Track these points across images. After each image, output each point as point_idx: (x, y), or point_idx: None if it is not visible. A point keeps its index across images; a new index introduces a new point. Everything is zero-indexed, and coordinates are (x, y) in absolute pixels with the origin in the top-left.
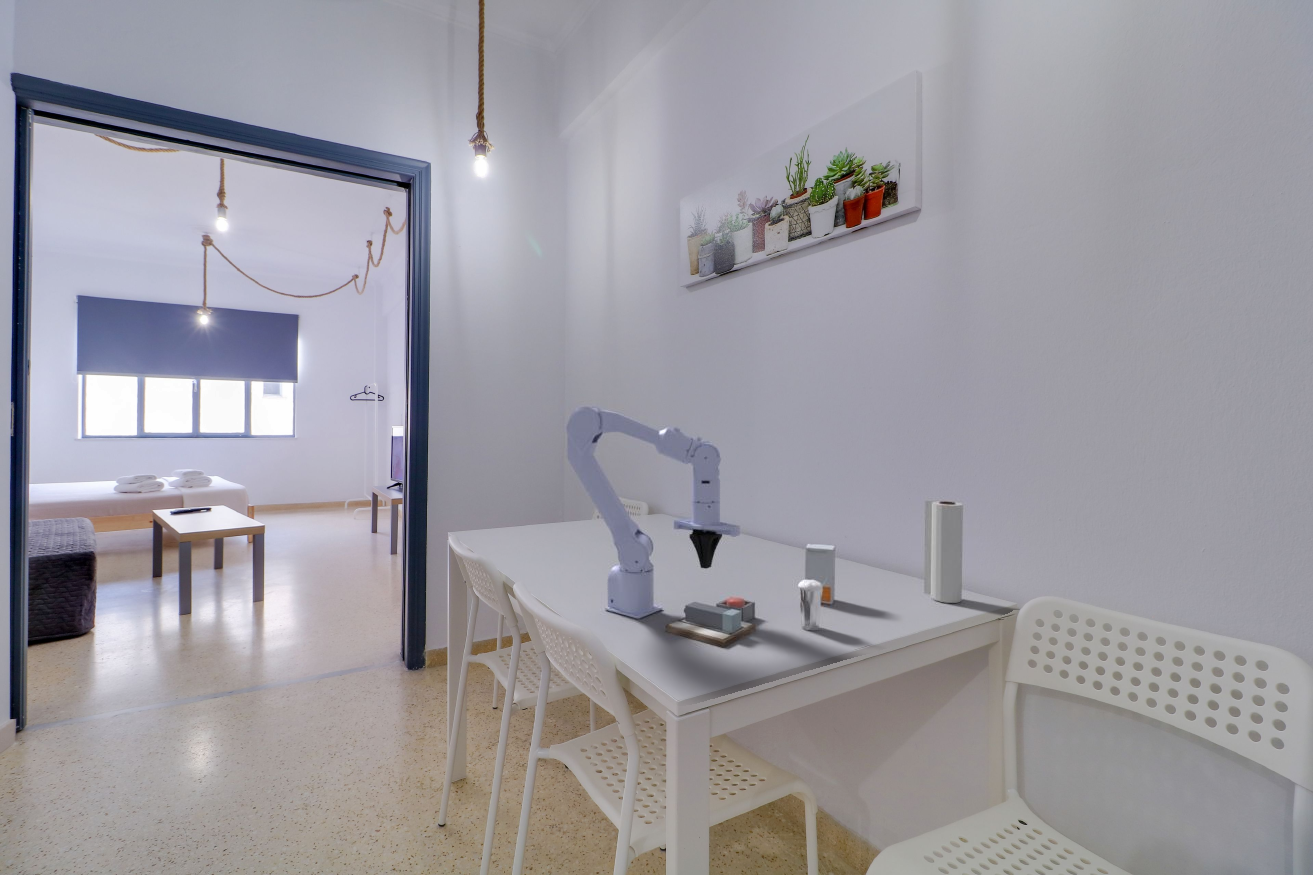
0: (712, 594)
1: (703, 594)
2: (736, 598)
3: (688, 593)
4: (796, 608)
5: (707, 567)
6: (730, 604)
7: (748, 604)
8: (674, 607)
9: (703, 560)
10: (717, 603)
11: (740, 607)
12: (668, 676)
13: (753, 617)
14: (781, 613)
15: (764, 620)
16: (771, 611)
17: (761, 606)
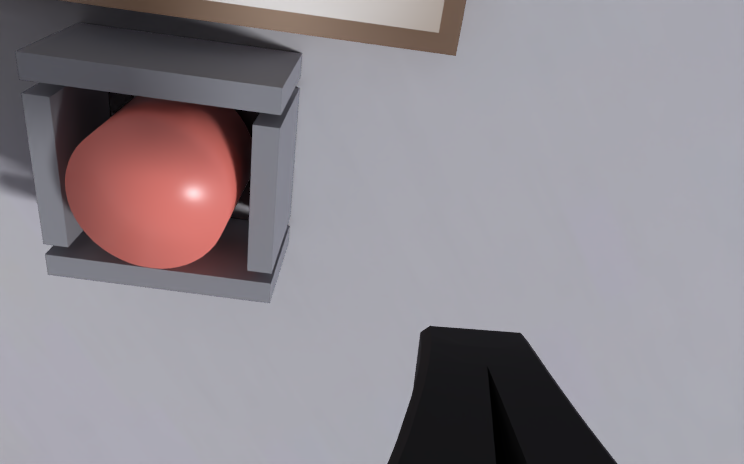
0: None
1: (599, 437)
2: (169, 244)
3: (703, 417)
4: (10, 442)
5: (419, 359)
6: (153, 116)
7: (51, 204)
8: (715, 126)
9: (472, 398)
10: (276, 99)
11: (50, 101)
12: None
13: None
14: (17, 345)
15: (11, 189)
16: (84, 350)
17: (181, 397)
